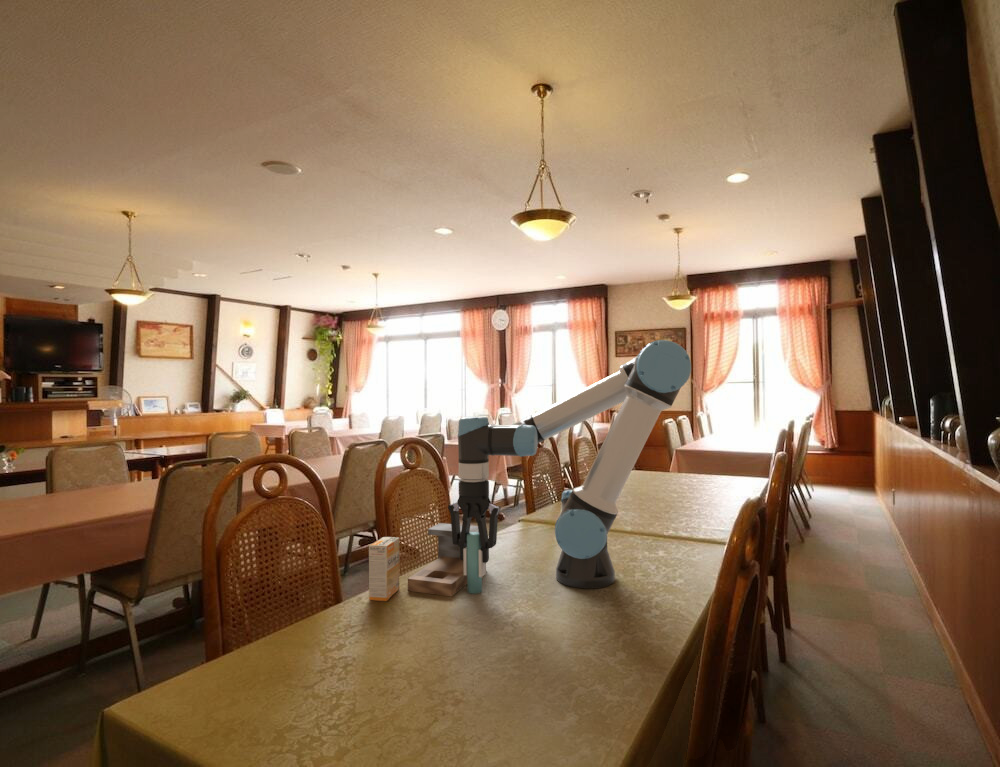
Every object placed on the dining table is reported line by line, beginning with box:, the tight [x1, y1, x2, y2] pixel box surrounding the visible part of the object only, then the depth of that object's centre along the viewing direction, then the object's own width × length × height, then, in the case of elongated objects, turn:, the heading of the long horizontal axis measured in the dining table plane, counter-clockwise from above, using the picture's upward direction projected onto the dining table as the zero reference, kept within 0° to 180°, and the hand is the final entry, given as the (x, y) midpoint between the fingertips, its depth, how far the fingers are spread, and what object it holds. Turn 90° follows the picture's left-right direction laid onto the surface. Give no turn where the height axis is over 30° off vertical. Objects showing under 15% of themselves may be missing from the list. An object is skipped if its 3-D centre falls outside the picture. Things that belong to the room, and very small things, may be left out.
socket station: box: [407, 522, 479, 597], centre depth 143 cm, size 14×20×12 cm
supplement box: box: [368, 536, 400, 602], centre depth 133 cm, size 8×5×13 cm, turn 168°
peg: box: [466, 532, 483, 595], centre depth 135 cm, size 4×4×14 cm
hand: (474, 574), depth 135 cm, fingers closed on peg, 3 cm apart
